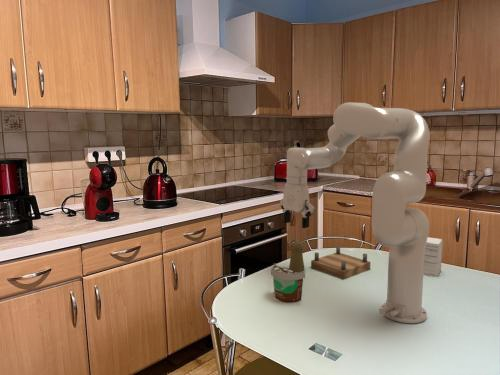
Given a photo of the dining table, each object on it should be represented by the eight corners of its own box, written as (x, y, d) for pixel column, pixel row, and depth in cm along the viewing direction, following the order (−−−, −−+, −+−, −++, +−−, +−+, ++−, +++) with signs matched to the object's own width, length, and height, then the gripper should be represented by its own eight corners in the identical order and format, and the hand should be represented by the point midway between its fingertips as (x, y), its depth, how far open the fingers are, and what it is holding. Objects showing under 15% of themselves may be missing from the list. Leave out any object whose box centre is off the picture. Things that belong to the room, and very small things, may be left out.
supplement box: (420, 267, 154) (422, 236, 152) (441, 271, 149) (443, 239, 147) (416, 273, 148) (417, 240, 146) (437, 277, 143) (439, 243, 142)
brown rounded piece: (294, 266, 157) (294, 239, 155) (307, 269, 153) (307, 242, 152) (285, 270, 152) (285, 243, 151) (299, 274, 149) (299, 245, 147)
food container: (262, 297, 129) (262, 267, 127) (274, 291, 133) (274, 262, 132) (293, 308, 120) (293, 276, 119) (305, 301, 125) (305, 271, 123)
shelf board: (343, 279, 143) (344, 263, 142) (311, 267, 155) (311, 253, 154) (370, 269, 152) (370, 254, 151) (337, 259, 165) (337, 245, 164)
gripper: (273, 179, 152) (273, 222, 155) (306, 184, 139) (305, 231, 141) (288, 177, 157) (287, 219, 159) (321, 182, 143) (320, 228, 146)
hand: (296, 225), depth 150 cm, fingers open, 9 cm apart
